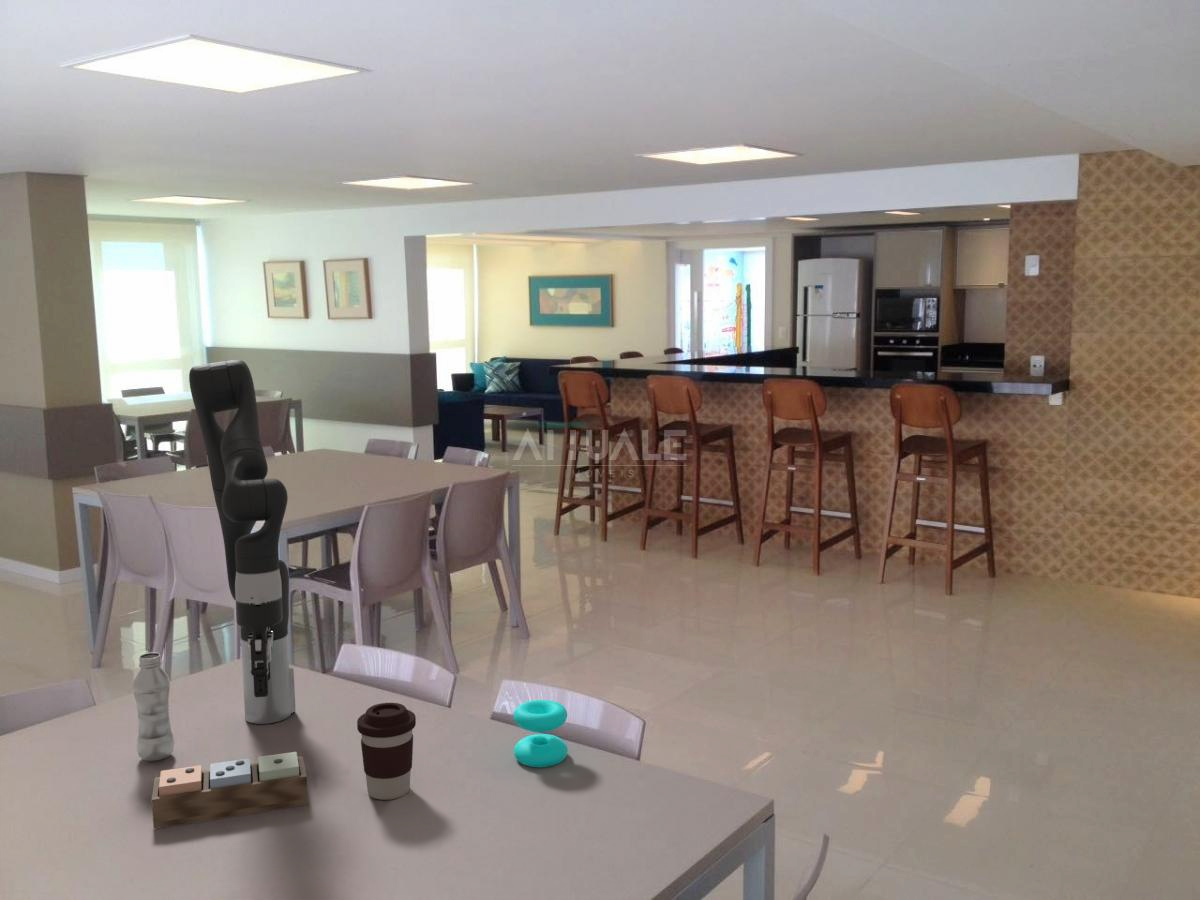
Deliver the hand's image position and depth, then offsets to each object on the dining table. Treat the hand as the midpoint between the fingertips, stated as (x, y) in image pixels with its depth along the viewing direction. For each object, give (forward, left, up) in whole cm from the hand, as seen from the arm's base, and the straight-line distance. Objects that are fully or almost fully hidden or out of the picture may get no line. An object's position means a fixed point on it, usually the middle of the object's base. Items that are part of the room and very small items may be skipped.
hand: (262, 688), depth 179 cm
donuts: (-39, +30, -19) cm, 52 cm away
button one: (0, +3, -15) cm, 16 cm away
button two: (+13, -6, -15) cm, 21 cm away
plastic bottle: (+3, -29, -19) cm, 35 cm away
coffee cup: (-13, +17, -19) cm, 29 cm away
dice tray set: (+6, -1, -19) cm, 20 cm away
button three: (+6, -1, -15) cm, 17 cm away
